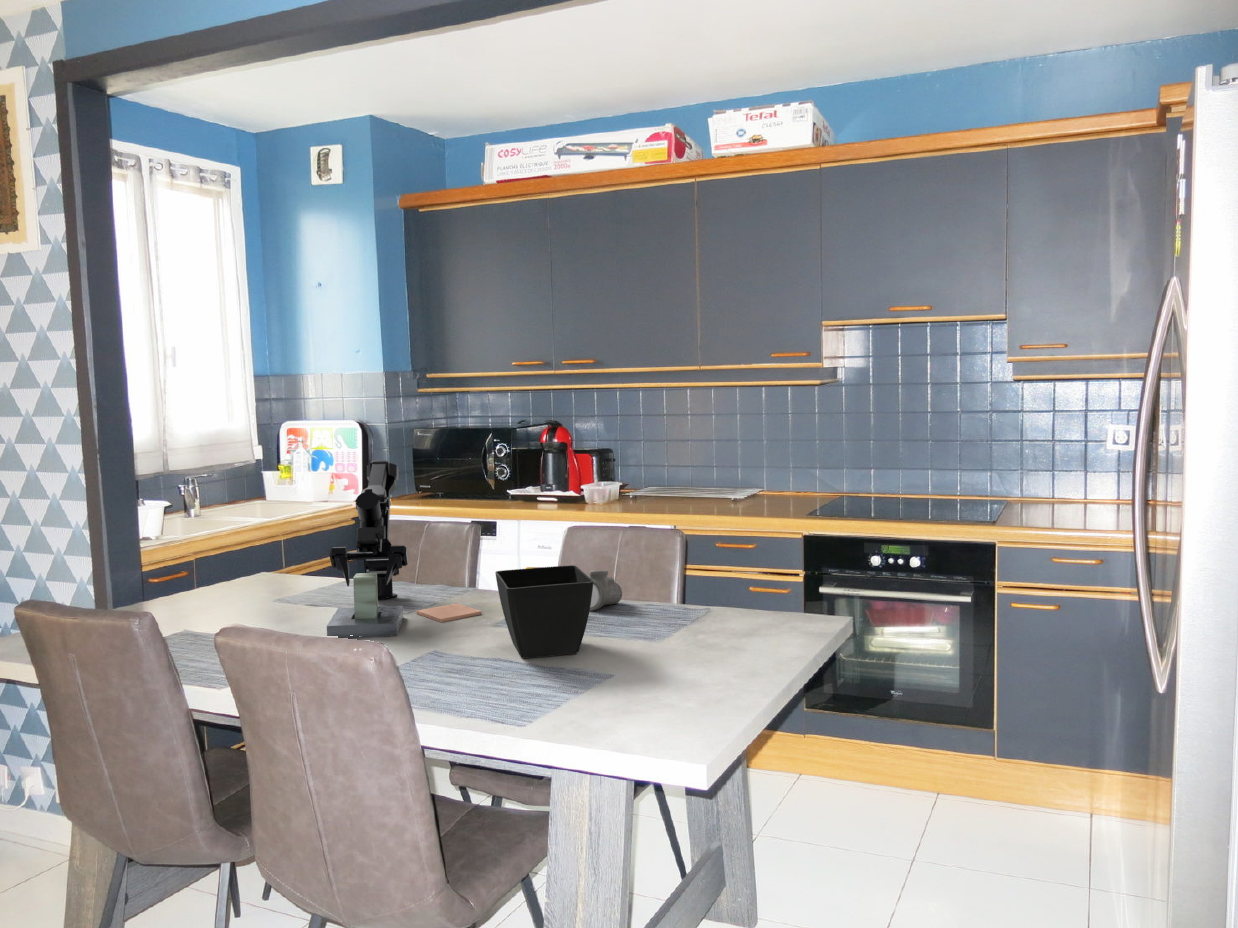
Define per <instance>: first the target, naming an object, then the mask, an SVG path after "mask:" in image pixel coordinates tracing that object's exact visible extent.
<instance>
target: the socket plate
mask: <svg viewBox="0 0 1238 928" xmlns="http://www.w3.org/2000/svg"><path fill="white" fill-rule="evenodd" d="M403 620H404V605H389V606H388V605H387V606H386V605H385V606H378V618H371V619H355V615H354V607H338V608H337V609H336V611H335V613H334V614H333V615H332V618H331V619H330V621H329V622H328V623H327V625H326V637H327V636H338V637H348V638H347V639H349V638H351V639H352V638H360V637H359V636H362V637H361V638H372V637H373V638H374V637H375V638H376V637H396V636H398V634H399V632H400V628H401V626H402V622H403ZM350 635H353V636H350Z"/></svg>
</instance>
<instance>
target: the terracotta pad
mask: <svg viewBox="0 0 1238 928" xmlns="http://www.w3.org/2000/svg"><path fill="white" fill-rule="evenodd" d="M415 612H416V613H415V614H417V615H420V616H421V617H422V616H423V617H425V618H427V619H428V618H429V619H431V620H434V621H436V622H439V623H445V622H450V621H454V620H459V619H464V618H470V617H474V616H479V615H482V610H480V609H479V610H478V609H475V608H472V607H469V606H466V605H464V604H460V603H452V604H445V605H441V606H435V607H430V608H429V607H428V608H424V609H417V610H416V611H415Z"/></svg>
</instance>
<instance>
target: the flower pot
mask: <svg viewBox="0 0 1238 928" xmlns="http://www.w3.org/2000/svg"><path fill="white" fill-rule="evenodd" d="M495 579H496V580H495V581H496V585H497V586H496V587H497V590H498V597H499V599H500V605H501V608H502V612H503V616H504V617H503V618H504V620H505V622H506V623H505V624H506V626H507V630H508V634H509V636H510V639H511V641H512V644H513V646H514V647H515V649H516V651H517V653H518V655H519V657H520V658H521V659H531V658H532V659H534V658H543V657H544V658H545V657H553V656H555V657H556V656H562V655H564V656H565V655H575V654H578V653H579V651H580V649H581V646H582V642H583V638H584V635H585V632H586V629H587V626H588V625H587V624H588V621H589V620H588V619H589V617H590V616H589V615H590V612H591V611H590V605H591V599H592V591H593V580H592V579H591V578H590V576H588V575H587V573H585V572H584V571H583V570H582V569H580V567H578V566H577V565H572V564H571V565H558V566H557V565H556V566H555V565H554V566H545V567H544V566H543V567H541V566H540V568H527V569H525V568H520V569H519V568H517V569H505V570H497V571H495Z"/></svg>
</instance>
